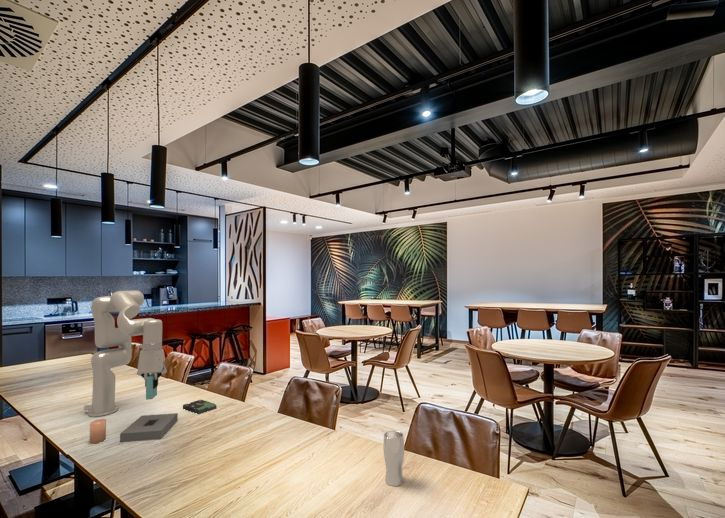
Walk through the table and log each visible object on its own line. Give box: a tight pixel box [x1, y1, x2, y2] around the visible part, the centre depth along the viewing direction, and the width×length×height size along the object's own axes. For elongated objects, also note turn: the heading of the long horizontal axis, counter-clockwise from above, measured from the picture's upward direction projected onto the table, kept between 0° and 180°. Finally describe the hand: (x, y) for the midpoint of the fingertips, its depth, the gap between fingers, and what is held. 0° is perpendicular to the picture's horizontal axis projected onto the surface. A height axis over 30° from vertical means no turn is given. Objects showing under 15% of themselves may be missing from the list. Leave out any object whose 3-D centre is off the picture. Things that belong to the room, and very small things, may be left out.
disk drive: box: [182, 399, 217, 415], centre depth 187 cm, size 10×3×15 cm
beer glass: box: [382, 430, 405, 487], centre depth 118 cm, size 7×7×15 cm
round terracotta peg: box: [89, 418, 107, 445], centre depth 150 cm, size 6×6×8 cm
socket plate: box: [119, 412, 179, 443], centre depth 160 cm, size 16×20×4 cm
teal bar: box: [145, 373, 158, 400], centre depth 161 cm, size 2×6×10 cm, turn 9°
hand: (151, 387), depth 161 cm, fingers closed on teal bar, 2 cm apart
